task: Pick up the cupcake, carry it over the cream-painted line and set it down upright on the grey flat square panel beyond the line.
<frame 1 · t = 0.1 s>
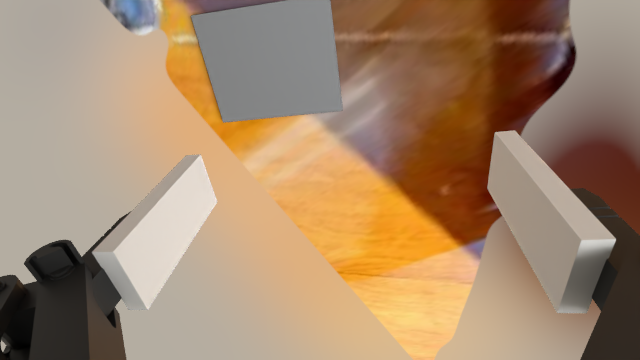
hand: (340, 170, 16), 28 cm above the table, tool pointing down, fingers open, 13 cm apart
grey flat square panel: (271, 64, 41), on the table
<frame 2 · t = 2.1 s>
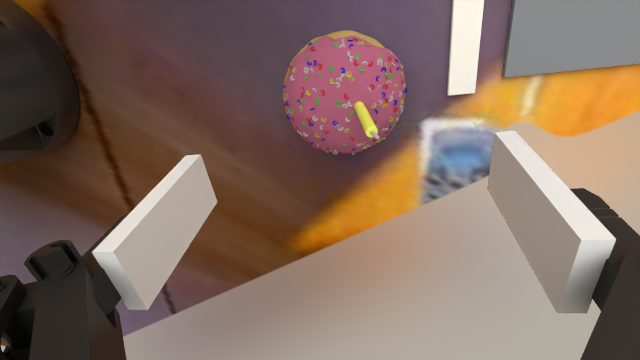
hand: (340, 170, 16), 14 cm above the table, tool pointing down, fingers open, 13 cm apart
cupcake: (345, 79, 28), on the table
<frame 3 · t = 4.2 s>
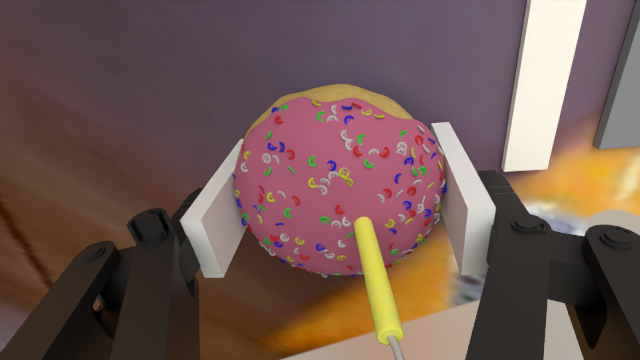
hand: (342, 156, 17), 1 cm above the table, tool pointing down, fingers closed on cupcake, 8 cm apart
cupcake: (342, 142, 18), on the table, touching gripper
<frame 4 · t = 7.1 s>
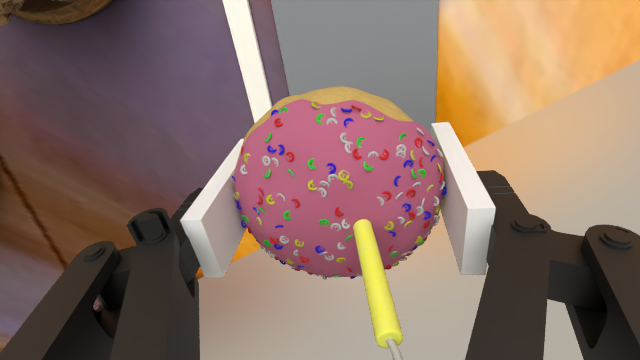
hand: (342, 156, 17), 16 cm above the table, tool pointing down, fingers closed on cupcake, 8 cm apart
cupcake: (342, 144, 18), point 14 cm above the table, touching gripper
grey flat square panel: (358, 62, 30), on the table
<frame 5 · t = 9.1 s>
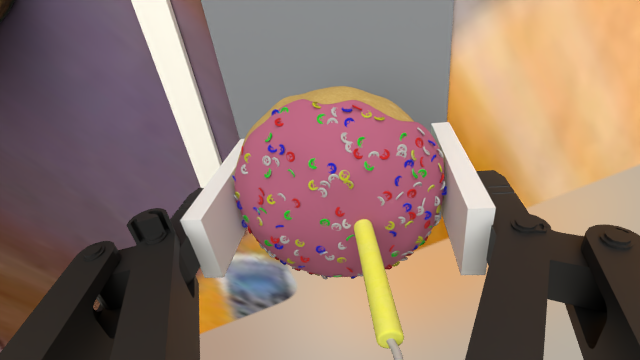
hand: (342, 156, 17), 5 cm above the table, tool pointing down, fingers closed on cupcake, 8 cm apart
cupcake: (342, 144, 18), point 4 cm above the table, touching gripper
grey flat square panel: (337, 117, 21), on the table
when the fingers open (3 cm above the table, at t = 10.4 s): cupcake drops 1 cm, resting on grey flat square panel.
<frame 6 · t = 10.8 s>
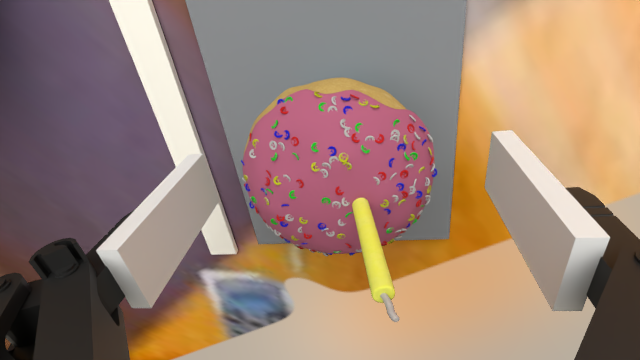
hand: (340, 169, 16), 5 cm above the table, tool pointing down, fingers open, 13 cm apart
cupcake: (341, 133, 19), resting on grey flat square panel
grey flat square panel: (336, 130, 20), on the table
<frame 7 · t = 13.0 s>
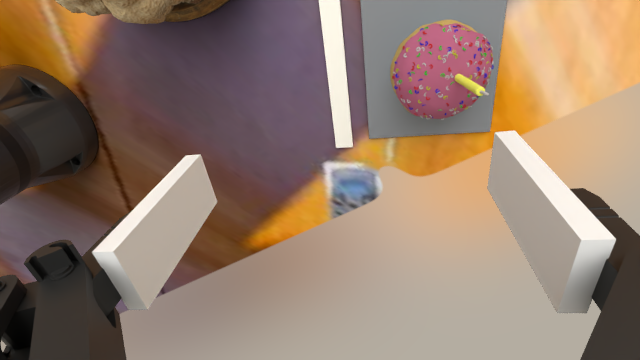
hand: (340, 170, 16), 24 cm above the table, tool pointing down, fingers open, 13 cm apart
cupcake: (432, 61, 34), resting on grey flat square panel
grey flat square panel: (429, 60, 35), on the table
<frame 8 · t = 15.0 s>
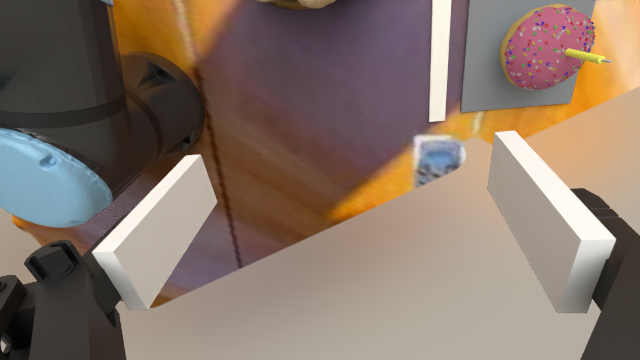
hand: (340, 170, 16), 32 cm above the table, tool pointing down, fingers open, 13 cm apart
cupcake: (526, 41, 40), resting on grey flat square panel
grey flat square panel: (523, 41, 40), on the table
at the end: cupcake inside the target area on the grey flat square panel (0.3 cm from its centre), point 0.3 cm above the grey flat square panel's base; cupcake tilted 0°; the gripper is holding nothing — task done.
